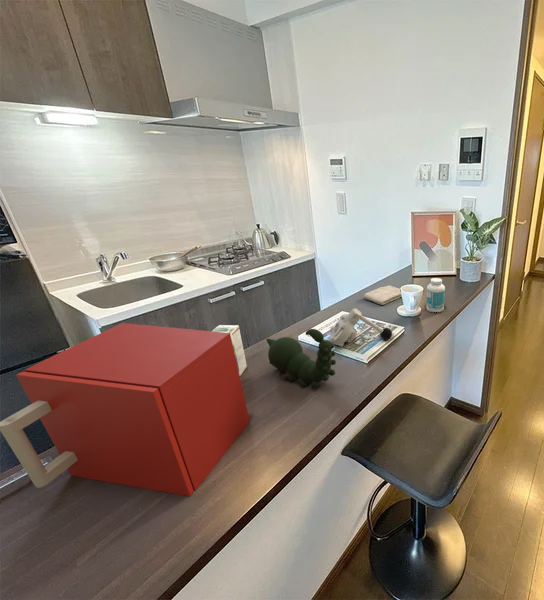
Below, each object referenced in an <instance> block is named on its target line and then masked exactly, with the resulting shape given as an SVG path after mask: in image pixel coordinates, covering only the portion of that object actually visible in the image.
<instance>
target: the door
mask: <svg viewBox="0 0 544 600" xmlns="http://www.w3.org/2000/svg"><path fill="white" fill-rule="evenodd" d="M15 376H16V378H17V379H18V381H19V383H20V385H21V387H22V389H23V391H24V392H25V394H26V396H27V398H28V399H29V402H30V404H29V405H26V407H24V408H22V409H20V410H18V411H16V412H14V413H13V414H11V415H10V416H8V417H6V418H4V419H2V420H1V421H0V433H1V434H2V436H3V437H4V439H5V441H6V442H7V444H8V446H9V447H10V448H11V450H12V452H13V453H14V455H15V456H16V459H17V460H18V461H19V463H20V465H21V466H22V468H23V469H24V471H25V473H26V474H27V476H28V478H29V479H30V481H31V482H32V484H33V486H34V487H35V488H36V489H39V488H40V489H41V488H43V487H45V486H47V485H48V484H49V483H51V482H52V481H54V480H55V479H56V478H57V477H58V476H61V474H63V473H64V472H65V471H66V470H67V471H68V473H69V474H70V476H72V477H77V478H83V479H89V480H94V481H101V482H107V483H111V484H118V485H123V486H129V487H134V488H141V489H146V490H152V491H158V492H162V493H163V492H164V493H169V494H175V495H181V496H186V497H191V496H192V495H193V494H194V492H195V490H193V488H192V485H191V482H190V479H189V476H188V473H187V470H186V468H185V465H184V462H183V459H182V456H181V453H180V450H179V448H178V445H177V442H176V439H175V436H174V433H173V430H172V427H171V425H170V422H169V419H168V416H167V413H166V410H165V407H164V405H163V402H162V399H161V396H160V393H159V390H158V388H151V387H142V386H134V385H126V384H118V383H110V382H102V381H94V380H86V379H78V378H70V377H62V376H54V375H46V374H38V373H30V372H25V371H21V372H19V373H17V374H16V375H15ZM38 420H40V422H41V423H42V425H43V427H44V429H45V431H46V433H47V434H48V436H49V438H50V440H51V442H52V444H53V445H54V447H55V449H56V451H57V453H58V454H59V455H58V456H57V457H55V458H54V459H52V460H51V461H50V462H49V463H47V464H46V465H44V463H43V462H42V460H41V458H40V457H39V455H38V453H37V451H36V450H35V448H34V446H33V444H32V443H31V441H30V440H29V438H28V436H27V434H26V433H25V431H24V430H23V429H24V428H26V427H28V426H29V425H31V424H33V423H35V422H36V421H38Z"/></svg>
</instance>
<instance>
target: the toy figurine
mask: <svg viewBox="0 0 544 600" xmlns="http://www.w3.org/2000/svg"><path fill="white" fill-rule="evenodd" d="M305 335H306V336H310V338H312V339H313V340H314V341H315V342H316V343H318V346H317V348H318V350H317V352H316V355H317V357H316V359H315V360H313V359H311V357H310V356H309V355H308V354H307V353H305V352H304V350H303V346H302V345H301V343H300V342H299V341H298V340H297V339H295V338H294V337H289V336H283V337H282V336H281V337H279V338H277V339H272V338H266V340H265V341H266V343H267V345H268V346H269V348H268V353H267V357H268V360H269V364H270V365H271V366H273V367H274V368H275V369H277V371H278V372H281V373H284V372H288V373H287V379H288V381H291V382H294V381H296V379H297V378H299V379H300V381H299V385H300V386H301V387H307V386H308V383H311V387H312V388H314V389H318V388H319V386H320V384H321V383H320V382H322V381H323V382H327V381H328V380H329V379H330V377H332V376H335V374H336V371H335V369H333V368H331V366H335V365H336V363H337V361H336V359H332V357H335V356H336V351H335V350H333V349H335V347H336V346H335V345H336V344H334V343H332V342H331V341H330V340H328V339H325V336H324V334H323V333H322V332H321V331H320V330H319V329H317V328H309V329H307V330H306V331H305Z"/></svg>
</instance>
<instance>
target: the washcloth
mask: <svg viewBox="0 0 544 600" xmlns="http://www.w3.org/2000/svg"><path fill="white" fill-rule="evenodd" d="M400 289H401V288H398V287H396V286H393V285H390V284H389V285H386V286H380V287H378V288H375V289H373V290H370V291H368V292H366V293H365V294H363V299H365V300H367V301H369V302H373V303H375V304H378V305H380V306H384V305H387V304H389V303H391V302H393V301H395V300H398V299H401V298H402V297H401V292H400ZM400 297H401V298H400Z"/></svg>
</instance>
